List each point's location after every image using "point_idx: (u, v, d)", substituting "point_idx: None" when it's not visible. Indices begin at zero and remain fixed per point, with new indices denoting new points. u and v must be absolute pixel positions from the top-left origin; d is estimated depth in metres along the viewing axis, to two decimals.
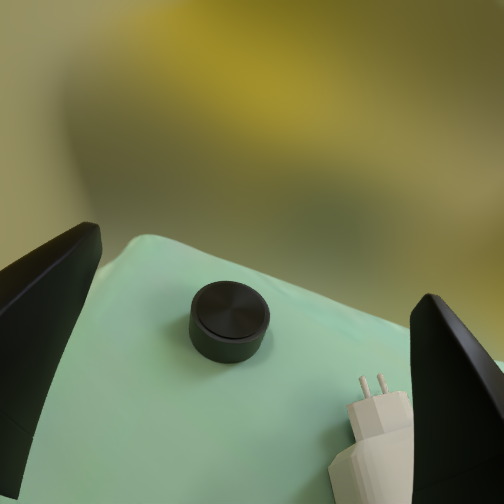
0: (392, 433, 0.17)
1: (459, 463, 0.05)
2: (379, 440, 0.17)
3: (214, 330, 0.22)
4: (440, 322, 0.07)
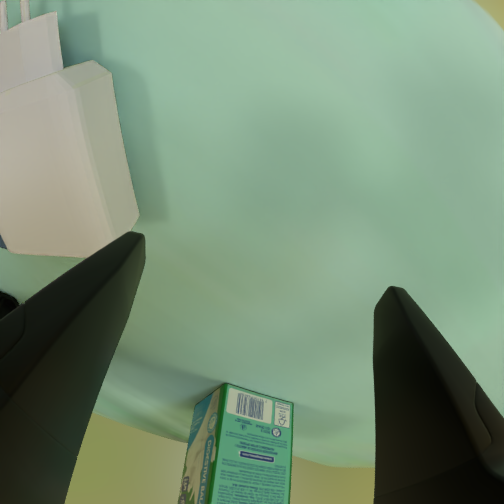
0: None
1: (420, 470, 0.05)
2: None
3: None
4: (401, 316, 0.07)
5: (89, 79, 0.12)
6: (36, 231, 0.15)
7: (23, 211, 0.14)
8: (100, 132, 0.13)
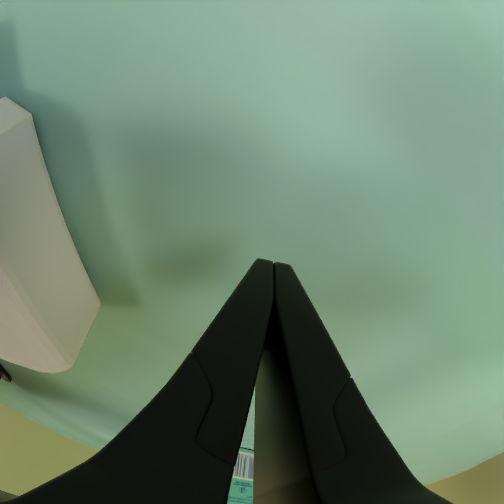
0: None
1: (281, 475, 0.05)
2: None
3: None
4: None
5: None
6: None
7: None
8: (16, 219, 0.08)
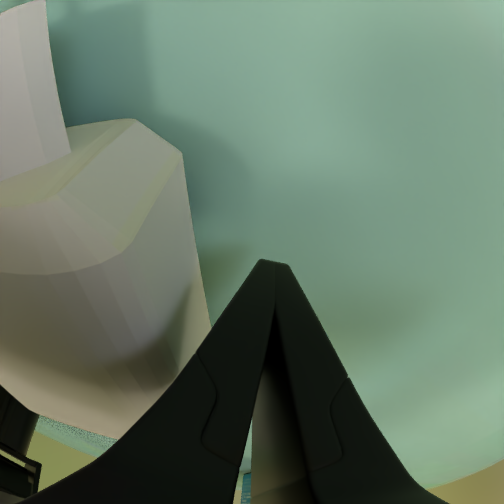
0: None
1: (278, 475, 0.05)
2: None
3: None
4: None
5: (148, 194, 0.05)
6: (66, 413, 0.09)
7: (38, 393, 0.08)
8: (178, 303, 0.07)
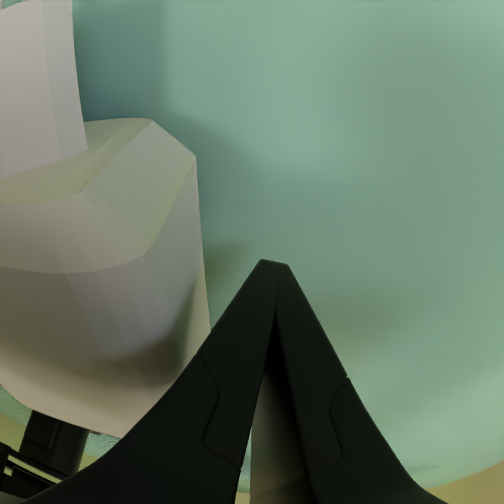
0: None
1: (277, 475, 0.05)
2: None
3: None
4: None
5: (167, 195, 0.06)
6: (62, 409, 0.09)
7: (36, 388, 0.08)
8: (186, 303, 0.07)
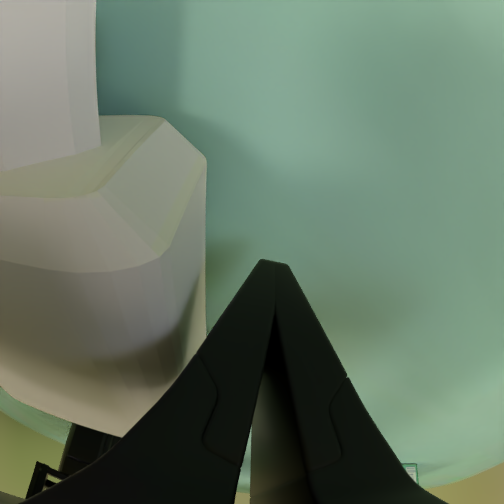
0: None
1: (277, 475, 0.05)
2: None
3: None
4: None
5: (180, 198, 0.06)
6: (55, 404, 0.09)
7: (29, 383, 0.08)
8: (190, 304, 0.07)
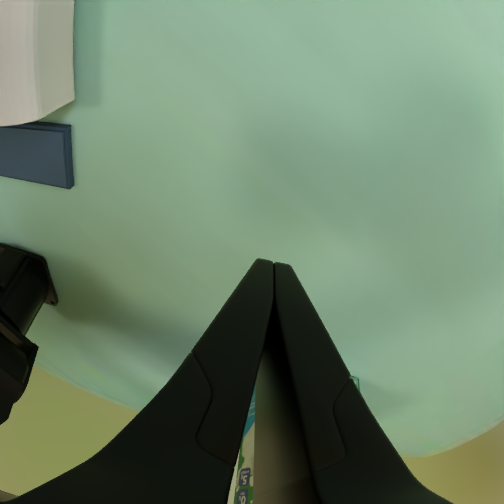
0: None
1: (281, 475, 0.05)
2: None
3: None
4: None
5: None
6: None
7: None
8: (51, 0, 0.09)
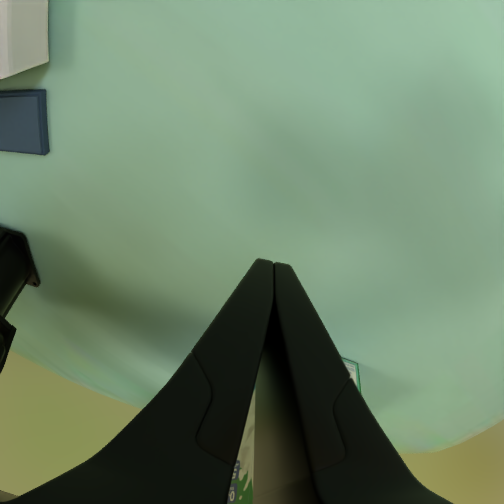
0: None
1: (281, 475, 0.05)
2: None
3: None
4: None
5: None
6: None
7: None
8: None
